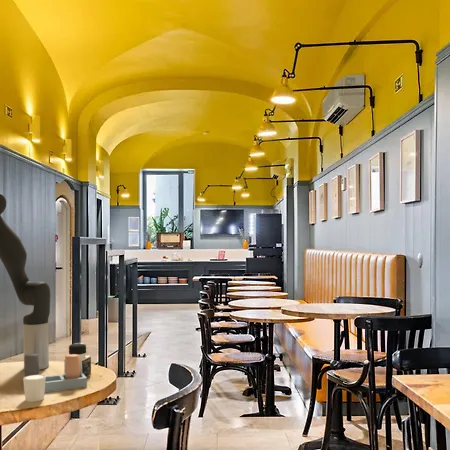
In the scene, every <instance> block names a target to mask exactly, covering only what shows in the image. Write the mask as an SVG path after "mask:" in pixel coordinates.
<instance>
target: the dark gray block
mask: <svg viewBox="0 0 450 450" xmlns="http://www.w3.org/2000/svg"><path fill="white" fill-rule="evenodd" d="M24 367H25V369H24V377H26V376H30V375H40V369H39V354H27V355H24V354H23V368H24Z"/></svg>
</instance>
